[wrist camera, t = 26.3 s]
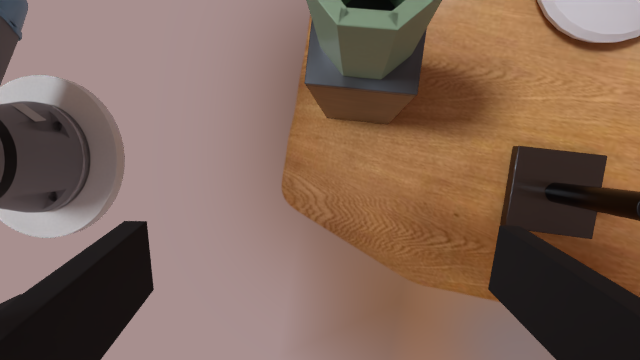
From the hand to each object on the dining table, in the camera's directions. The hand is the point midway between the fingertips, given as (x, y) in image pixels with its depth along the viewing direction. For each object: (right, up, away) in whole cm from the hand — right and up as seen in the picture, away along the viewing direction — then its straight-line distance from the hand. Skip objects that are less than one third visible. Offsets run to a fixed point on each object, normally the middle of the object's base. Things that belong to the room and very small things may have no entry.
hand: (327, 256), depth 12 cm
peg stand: (+28, +1, +29) cm, 40 cm away
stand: (+5, +14, +30) cm, 34 cm away
